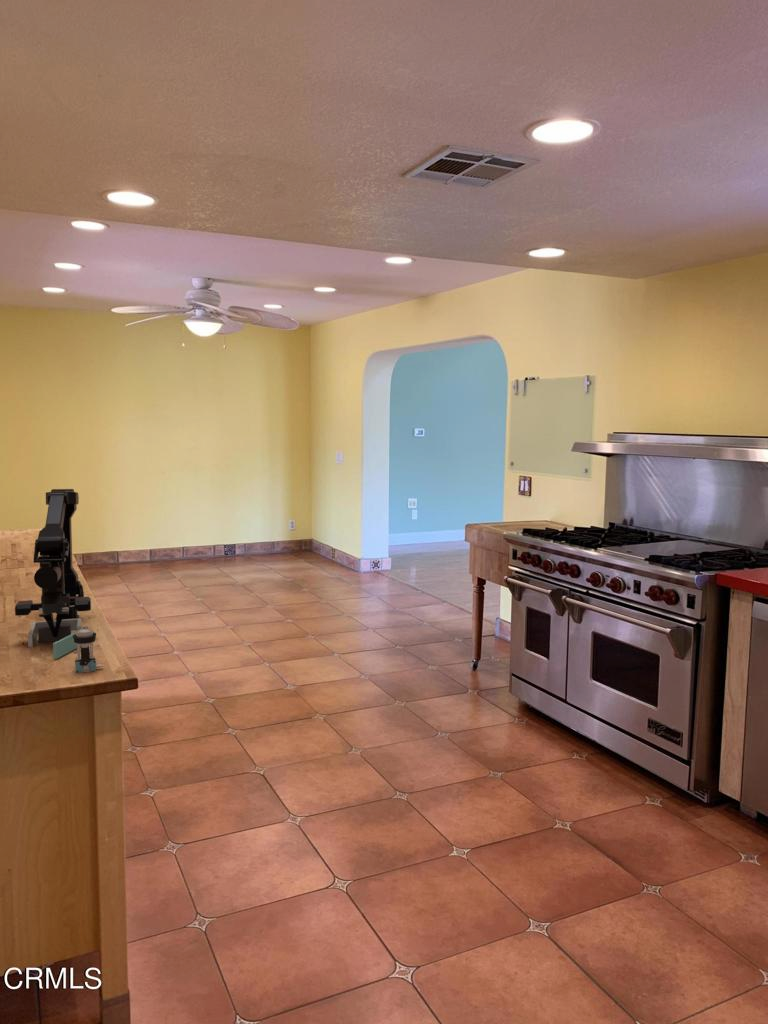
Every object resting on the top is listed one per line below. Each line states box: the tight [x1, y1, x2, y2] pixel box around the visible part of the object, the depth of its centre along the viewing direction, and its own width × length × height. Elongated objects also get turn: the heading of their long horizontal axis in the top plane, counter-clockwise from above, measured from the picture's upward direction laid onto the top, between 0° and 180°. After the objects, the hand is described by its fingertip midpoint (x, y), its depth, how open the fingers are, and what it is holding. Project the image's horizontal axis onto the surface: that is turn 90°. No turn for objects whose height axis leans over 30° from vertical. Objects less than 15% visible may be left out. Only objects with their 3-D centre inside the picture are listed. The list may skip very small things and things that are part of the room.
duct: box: [27, 617, 89, 648], centre depth 212 cm, size 17×15×4 cm
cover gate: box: [52, 631, 81, 660], centre depth 200 cm, size 1×13×4 cm, turn 170°
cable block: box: [37, 622, 72, 643], centre depth 212 cm, size 5×8×4 cm, turn 110°
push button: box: [73, 628, 104, 674], centre depth 186 cm, size 7×5×10 cm
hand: (55, 636), depth 209 cm, fingers closed
